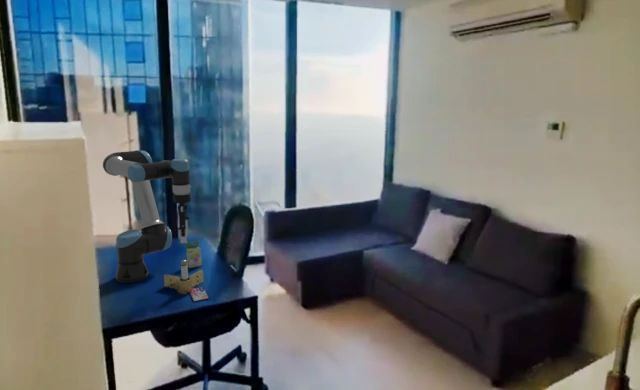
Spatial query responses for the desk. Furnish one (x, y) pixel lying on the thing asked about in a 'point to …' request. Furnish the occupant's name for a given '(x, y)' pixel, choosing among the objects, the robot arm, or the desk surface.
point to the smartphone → (199, 294)
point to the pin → (184, 270)
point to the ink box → (193, 255)
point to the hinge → (183, 282)
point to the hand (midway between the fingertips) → (184, 238)
